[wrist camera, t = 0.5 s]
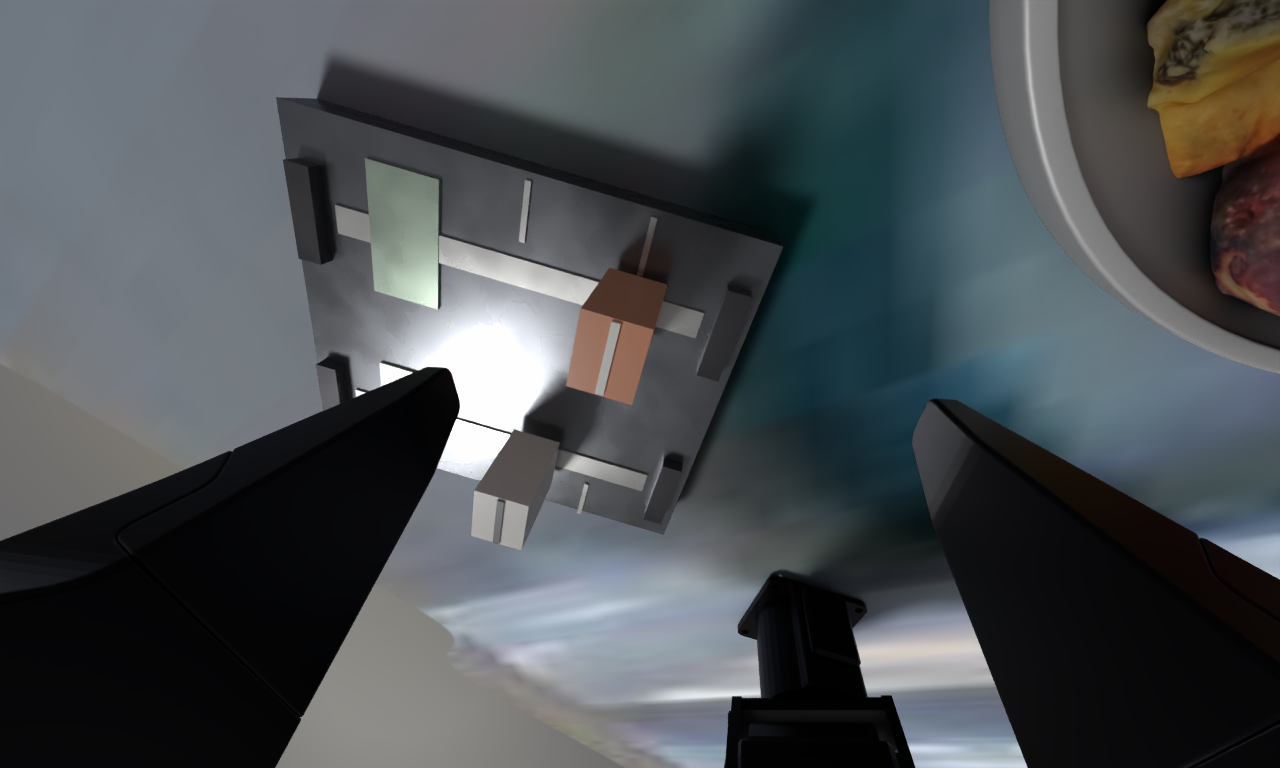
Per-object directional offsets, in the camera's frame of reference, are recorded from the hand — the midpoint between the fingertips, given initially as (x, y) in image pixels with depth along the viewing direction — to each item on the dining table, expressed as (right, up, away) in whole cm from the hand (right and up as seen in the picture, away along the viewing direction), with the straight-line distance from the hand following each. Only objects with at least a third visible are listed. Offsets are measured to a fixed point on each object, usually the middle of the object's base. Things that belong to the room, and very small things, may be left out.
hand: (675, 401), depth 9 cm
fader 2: (-1, +3, +10) cm, 11 cm away
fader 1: (-6, -4, +15) cm, 17 cm away
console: (-7, +2, +15) cm, 16 cm away
